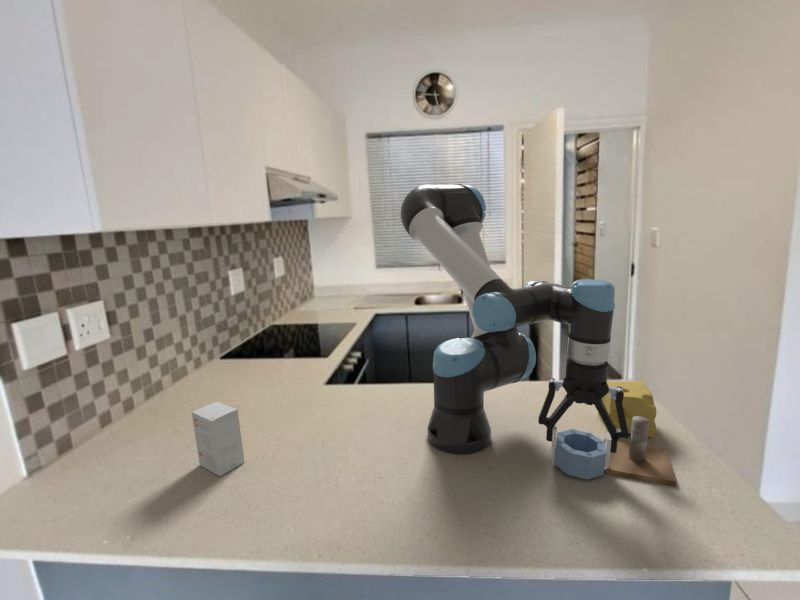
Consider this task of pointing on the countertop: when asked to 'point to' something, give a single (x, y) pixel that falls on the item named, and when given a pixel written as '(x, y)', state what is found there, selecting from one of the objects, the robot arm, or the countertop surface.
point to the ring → (580, 454)
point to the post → (641, 457)
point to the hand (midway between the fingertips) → (578, 459)
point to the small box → (218, 437)
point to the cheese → (632, 405)
